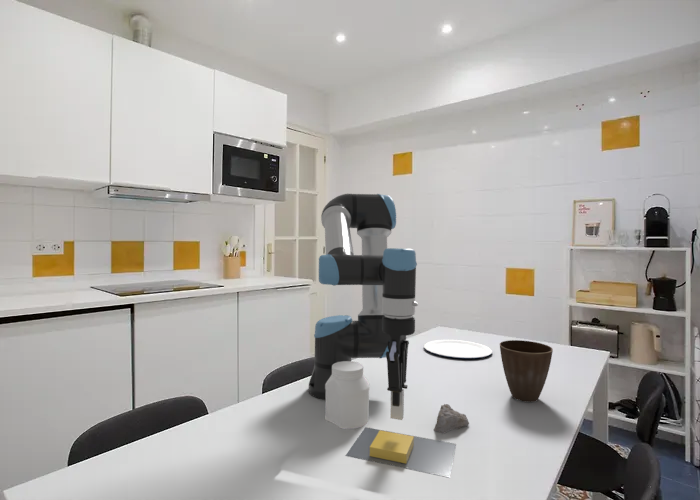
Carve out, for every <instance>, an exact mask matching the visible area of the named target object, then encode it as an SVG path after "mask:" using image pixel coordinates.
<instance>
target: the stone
mask: <svg viewBox="0 0 700 500" xmlns="http://www.w3.org/2000/svg"><path fill="white" fill-rule="evenodd" d="M469 425H470V422H469V419H468V417H467V415H466V414H465V413H461V412H459V411H457V410H454V409H453V408H452V407H451V406H450V404H447V403H446V404H445V403H444V404H442V405H441V406H440V409H439V411H438V414H437V418H436V422H435V426H434V428H433V431H435V432H439V433H441V434H446V433H447V432H449V431H452V430H460V429H461V428H464V427H467V426H469Z"/></svg>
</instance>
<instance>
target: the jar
mask: <svg viewBox="0 0 700 500" xmlns="http://www.w3.org/2000/svg"><path fill="white" fill-rule="evenodd" d="M325 389H326V399H325V408H324V409H325V412H324V413H325V416H324V420H325V421H327V422H330V423H333V424H334V425H336V426H337V427H338V428H340V429H345V430H349V429H350V430H351V429H357V428H361V427H364V426H366V425H367V424H368V423H369V421H370V415H369V414H370V413H369V412H370V411H369V410H370V383H369V380H368V379H367V378H366V377H365V375H364V365H363V363H360V362H357V361H352V360H351V361H342V362H337V363H334V364H333V365H332V375H331V376H330V378H329V379H328V381H327V382H326V384H325Z"/></svg>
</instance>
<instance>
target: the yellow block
mask: <svg viewBox="0 0 700 500" xmlns="http://www.w3.org/2000/svg"><path fill="white" fill-rule="evenodd" d="M379 430H380V431H379V432H378V434H377V436H376V437H375V439H374V441H373V442H372V444H371V446H370V456H372V457H377V458H381V459H386V460H391V461H396V462H401V463H407V461H408V458H409V456H410V453H411V451H412V448H413V446H414V436H415V435H411V436H409V435H410V434H406V435H403V434H404V433H400V434H398V433H399V432H395V433H392V432H393V431H389V432H387V431H388V430H384V431H381V430H382V429H379Z"/></svg>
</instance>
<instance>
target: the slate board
mask: <svg viewBox="0 0 700 500" xmlns="http://www.w3.org/2000/svg"><path fill="white" fill-rule="evenodd" d="M380 430H381V431H385V430H383V429H378V428H373V427H367V426H365V427H364V428H363V430H361V432H360V434H359V435H358V437H357V438H356V440H355V441H354V443H353V444H352V445H351V447H350V448H349V450H348V451H347V453H346V454H345V457H348V458H349V457H350V458H355V459H359V460H363V461H364V460H365V461H368V462H369V461H370V462H372V463H374V462H375V463H379V464H382V465H387V466H388V465H389V466H393V467H397V468H402V469H406V470H412V471H416V472H420V473H421V472H422V473H425V474H431V475H434V476H439V477H445V478H449V479H450V478H451V474H452V469H453V463H454V458H455V453H456V448H457V443H455V442H449V441H442V440H438V439H432V438H426V437H421V436H416V435H413V436H414V446H413V448H412V451H411V453H410V456H409V458H408V461H407V463H401V462H396V461H391V460H386V459H381V458H377V457H372V456H370V446H371V444H372V442H373V441H374V439H375V437H376V436H377V434H378V432H379V431H380ZM386 431H387V432H390V431H388V430H386ZM391 432H392V433H396V432H394V431H391ZM397 433H398V434H401V432H400V433H399V432H397ZM402 434H403V435H407V434H405V433H402ZM408 435H409V436H412V435H410V434H408Z"/></svg>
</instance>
